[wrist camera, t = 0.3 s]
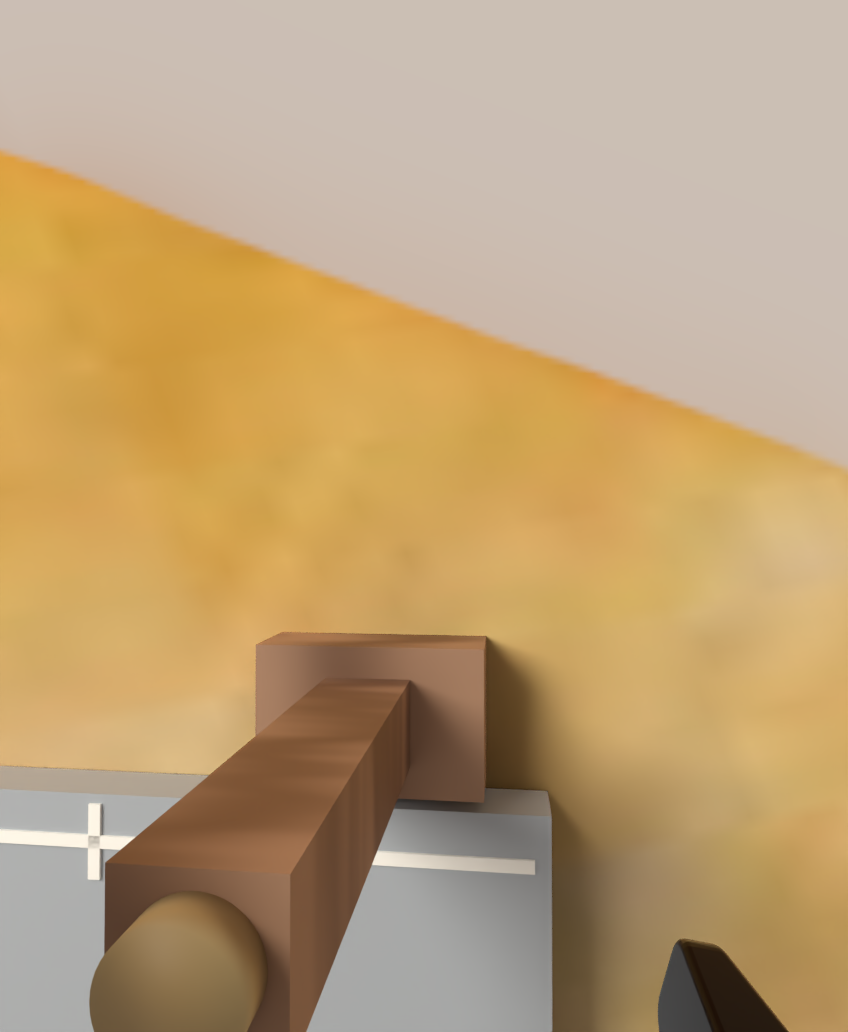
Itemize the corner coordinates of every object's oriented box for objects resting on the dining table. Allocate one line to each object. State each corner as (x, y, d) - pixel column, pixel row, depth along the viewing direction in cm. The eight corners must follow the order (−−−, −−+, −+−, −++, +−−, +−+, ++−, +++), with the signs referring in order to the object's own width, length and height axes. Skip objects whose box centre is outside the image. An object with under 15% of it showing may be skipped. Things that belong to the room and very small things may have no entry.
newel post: (486, 636, 23) (452, 838, 8) (486, 772, 23) (452, 1232, 8) (282, 632, 23) (-92, 808, 9) (281, 763, 23) (-96, 1164, 9)
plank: (547, 790, 22) (551, 817, 20) (548, 1101, 22) (552, 1160, 20) (-14, 765, 25) (-62, 787, 23) (-17, 1045, 24) (-66, 1094, 22)
